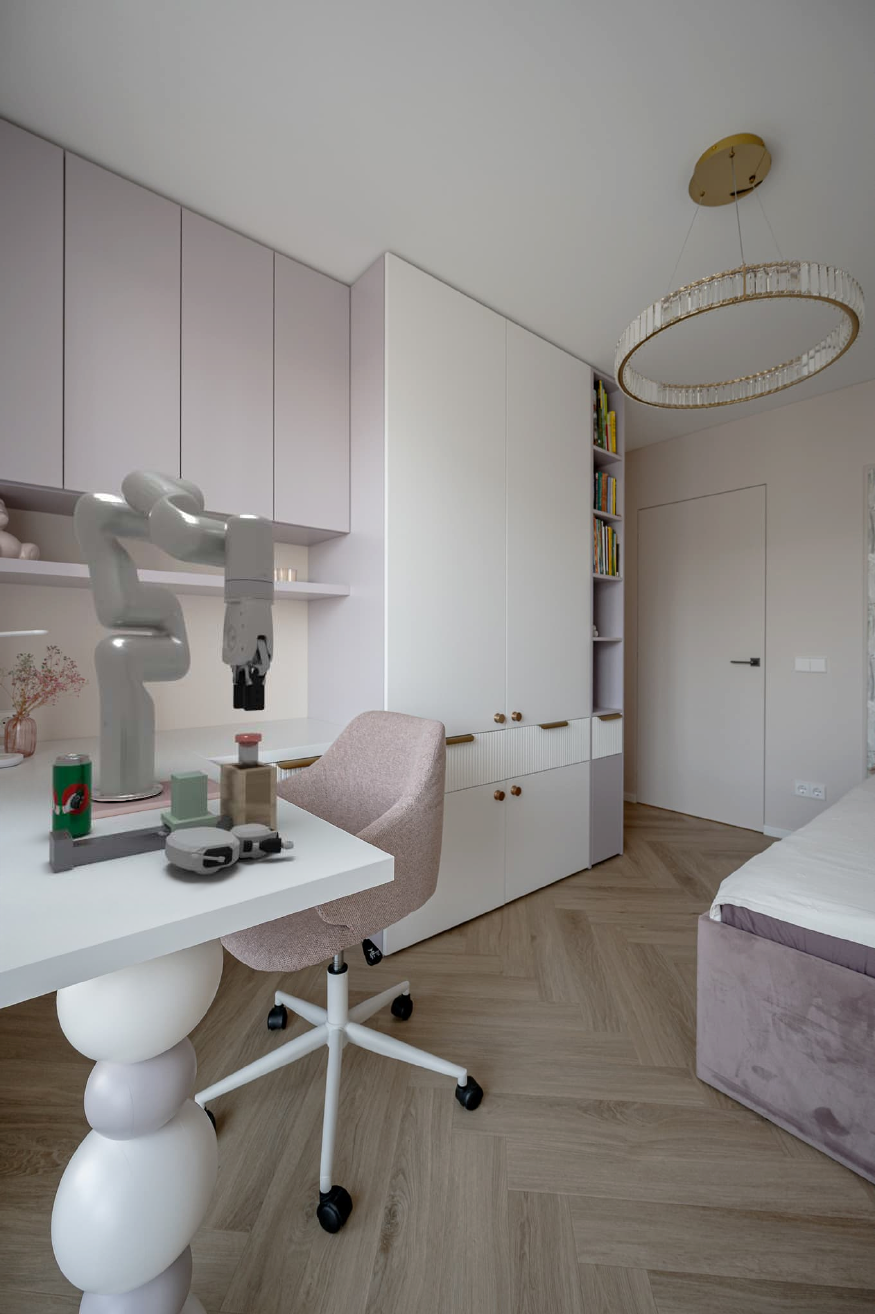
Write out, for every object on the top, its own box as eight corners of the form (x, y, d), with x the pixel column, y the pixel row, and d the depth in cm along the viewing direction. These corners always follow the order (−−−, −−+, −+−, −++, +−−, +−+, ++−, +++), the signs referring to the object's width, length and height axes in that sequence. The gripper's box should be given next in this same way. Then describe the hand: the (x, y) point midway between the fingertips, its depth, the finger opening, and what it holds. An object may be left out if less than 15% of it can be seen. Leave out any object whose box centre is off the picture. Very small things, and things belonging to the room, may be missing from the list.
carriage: (160, 836, 85) (161, 773, 85) (201, 828, 89) (202, 768, 89) (174, 848, 79) (174, 781, 79) (217, 839, 83) (217, 775, 83)
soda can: (98, 830, 89) (99, 754, 89) (75, 840, 84) (75, 759, 84) (69, 829, 89) (69, 753, 89) (43, 839, 84) (44, 759, 84)
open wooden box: (220, 826, 91) (220, 764, 91) (256, 819, 95) (256, 760, 95) (238, 838, 85) (239, 772, 85) (276, 830, 89) (276, 767, 89)
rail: (49, 861, 75) (49, 831, 75) (229, 827, 90) (229, 802, 90) (54, 872, 71) (54, 841, 71) (241, 834, 87) (241, 809, 87)
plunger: (231, 771, 90) (231, 734, 90) (255, 768, 93) (255, 732, 93) (240, 776, 87) (240, 737, 87) (265, 772, 90) (265, 735, 90)
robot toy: (257, 845, 85) (151, 861, 75) (259, 814, 85) (154, 827, 75) (298, 867, 76) (184, 889, 66) (300, 833, 77) (187, 850, 66)
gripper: (207, 596, 94) (207, 706, 94) (246, 588, 81) (245, 715, 81) (251, 600, 99) (251, 704, 99) (294, 592, 86) (293, 712, 86)
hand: (248, 708), depth 90 cm, fingers open, 3 cm apart
